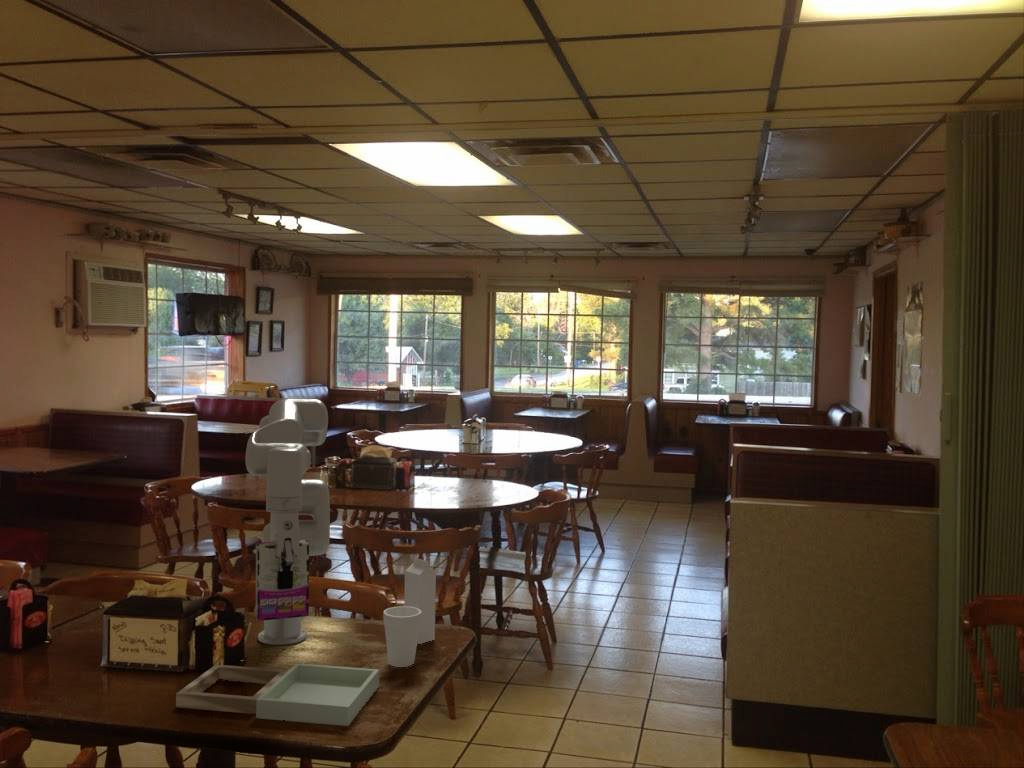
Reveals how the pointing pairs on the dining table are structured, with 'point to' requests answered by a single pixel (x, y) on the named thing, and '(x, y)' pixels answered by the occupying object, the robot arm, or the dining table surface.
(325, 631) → the dining table surface
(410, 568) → the milk
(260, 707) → the green tray
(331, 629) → the dining table surface
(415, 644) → the foam cup
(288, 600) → the candy bar box
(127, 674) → the dining table surface
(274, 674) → the frame
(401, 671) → the dining table surface
